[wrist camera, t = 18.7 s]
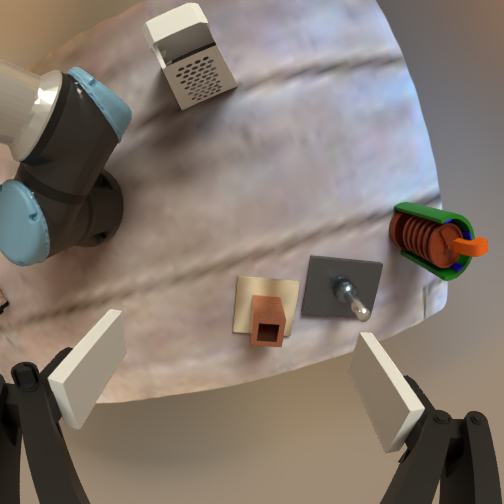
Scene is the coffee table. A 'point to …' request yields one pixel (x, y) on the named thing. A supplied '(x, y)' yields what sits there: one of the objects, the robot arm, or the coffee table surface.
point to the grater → (182, 42)
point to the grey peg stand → (341, 287)
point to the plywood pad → (263, 288)
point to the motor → (435, 239)
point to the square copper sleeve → (267, 321)
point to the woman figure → (5, 303)
